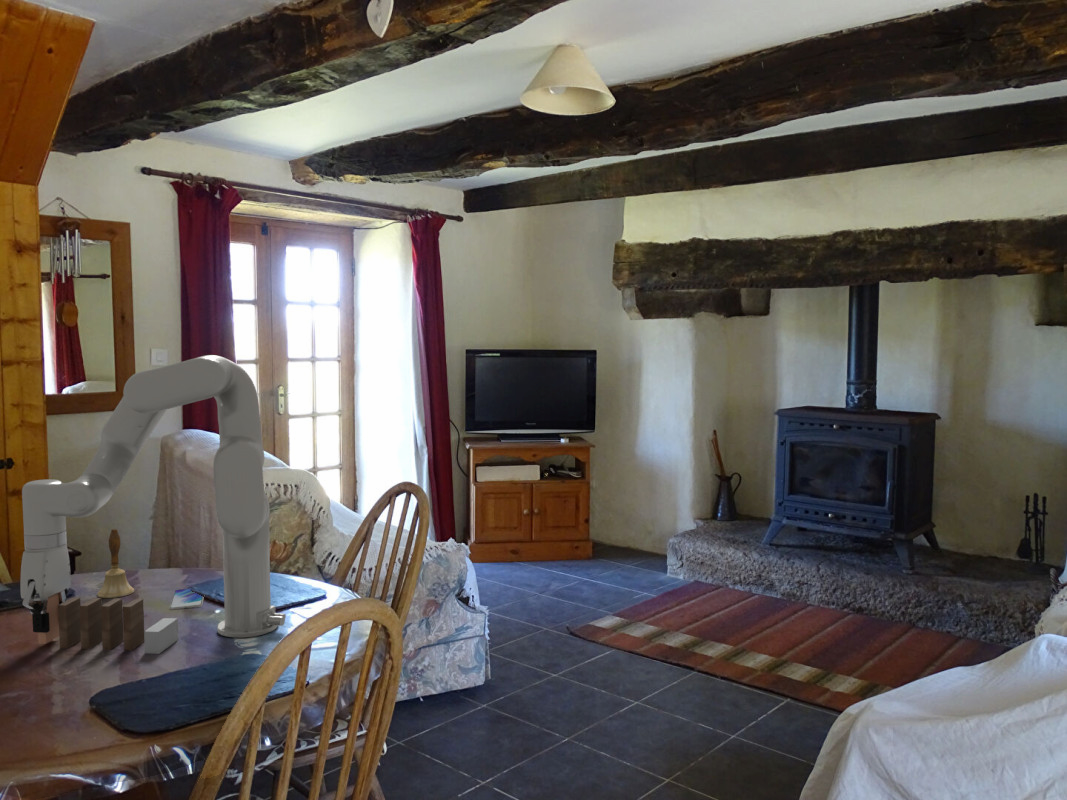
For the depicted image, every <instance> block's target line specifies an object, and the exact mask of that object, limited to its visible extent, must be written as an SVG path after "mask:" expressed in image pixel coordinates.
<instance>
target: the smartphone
mask: <svg viewBox="0 0 1067 800" xmlns="http://www.w3.org/2000/svg"><path fill="white" fill-rule="evenodd" d="M192 588H193V587H190V588H182V589H181V588H179V589H175V590H174V591H173V595H172V599H171V602H170V605H169V607H168V610H171V611H173V610H174V611H175V610H183V609H195V608H202V607H203V604H204V597H205V596H204V597H203V596H201V595H199V594H197V593H195V592H192V591H191V589H192Z"/></svg>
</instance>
